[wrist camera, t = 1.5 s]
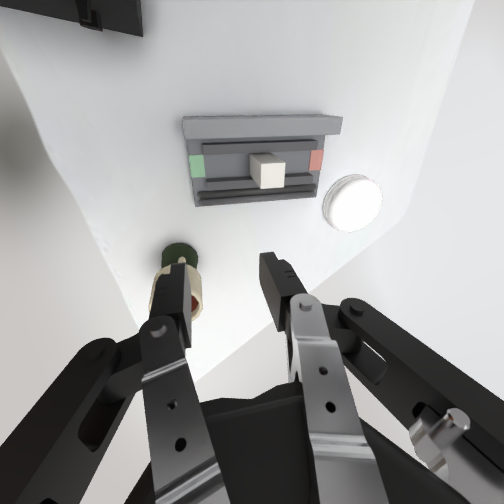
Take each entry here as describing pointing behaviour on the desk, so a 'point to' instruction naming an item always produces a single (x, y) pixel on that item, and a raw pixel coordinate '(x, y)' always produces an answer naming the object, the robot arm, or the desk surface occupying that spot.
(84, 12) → the uninterruptible power supply
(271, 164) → the handle
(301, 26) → the desk surface
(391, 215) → the desk surface
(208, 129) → the grey slider panel
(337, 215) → the white round disc
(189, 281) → the robot arm
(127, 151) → the desk surface
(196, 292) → the character mug
